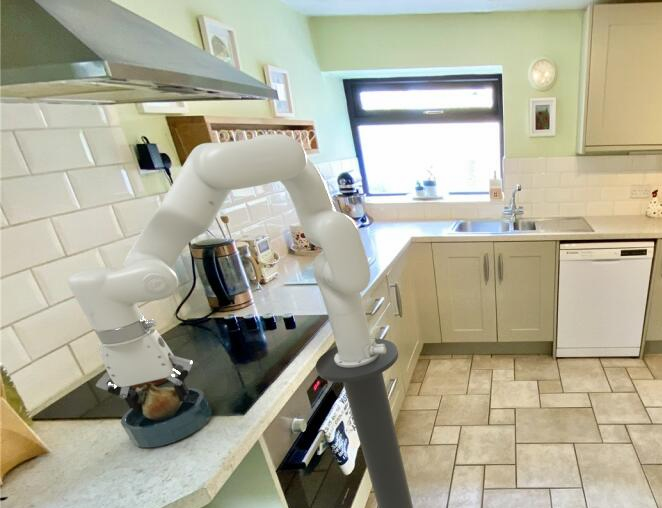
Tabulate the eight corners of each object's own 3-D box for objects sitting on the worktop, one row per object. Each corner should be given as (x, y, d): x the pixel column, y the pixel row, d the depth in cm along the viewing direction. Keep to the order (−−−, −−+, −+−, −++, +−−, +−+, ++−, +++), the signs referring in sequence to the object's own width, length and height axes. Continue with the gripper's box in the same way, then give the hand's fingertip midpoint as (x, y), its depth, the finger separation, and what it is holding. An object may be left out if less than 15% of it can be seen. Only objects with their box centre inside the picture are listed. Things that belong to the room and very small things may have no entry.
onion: (144, 431, 87) (125, 400, 83) (149, 412, 93) (132, 382, 90) (187, 418, 91) (171, 387, 87) (189, 400, 97) (175, 371, 93)
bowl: (227, 406, 99) (218, 387, 97) (179, 450, 86) (167, 429, 84) (170, 406, 100) (160, 387, 98) (115, 449, 88) (101, 428, 85)
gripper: (180, 314, 89) (211, 383, 97) (75, 334, 82) (118, 406, 90) (171, 328, 82) (206, 400, 91) (58, 350, 76) (106, 426, 84)
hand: (162, 403), depth 90 cm, fingers closed on onion, 7 cm apart
